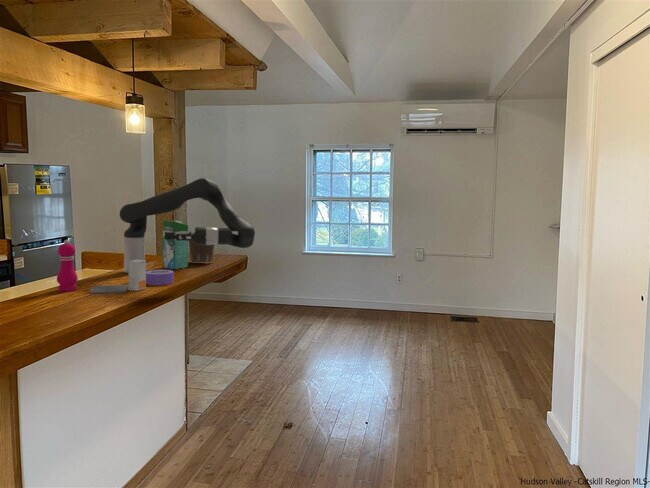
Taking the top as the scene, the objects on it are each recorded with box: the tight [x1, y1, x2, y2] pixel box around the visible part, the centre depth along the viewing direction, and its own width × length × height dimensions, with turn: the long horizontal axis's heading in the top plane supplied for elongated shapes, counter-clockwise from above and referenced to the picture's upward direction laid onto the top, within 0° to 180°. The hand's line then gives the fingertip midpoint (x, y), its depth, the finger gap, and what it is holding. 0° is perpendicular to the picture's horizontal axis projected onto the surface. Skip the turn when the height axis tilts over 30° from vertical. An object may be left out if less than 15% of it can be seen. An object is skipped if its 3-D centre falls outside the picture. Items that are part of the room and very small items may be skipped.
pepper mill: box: [56, 239, 78, 292], centre depth 185 cm, size 7×7×20 cm
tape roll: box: [146, 269, 175, 286], centre depth 207 cm, size 12×12×5 cm
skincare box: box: [128, 259, 147, 292], centre depth 191 cm, size 6×4×12 cm
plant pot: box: [188, 239, 215, 262], centre depth 267 cm, size 16×16×16 cm
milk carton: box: [162, 219, 189, 270], centre depth 246 cm, size 9×9×25 cm
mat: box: [88, 284, 129, 294], centre depth 189 cm, size 12×13×1 cm
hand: (165, 235), depth 192 cm, fingers open, 6 cm apart
